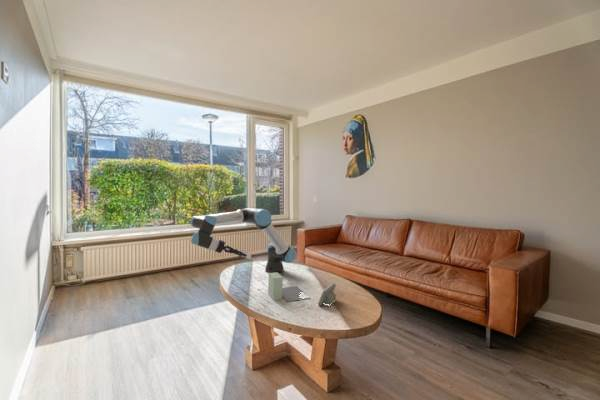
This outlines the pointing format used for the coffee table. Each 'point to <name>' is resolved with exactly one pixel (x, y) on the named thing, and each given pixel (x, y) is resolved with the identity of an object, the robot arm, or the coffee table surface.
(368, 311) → the coffee table surface
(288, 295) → the felt pad
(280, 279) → the sage block
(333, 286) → the digital clock
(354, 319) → the coffee table surface
